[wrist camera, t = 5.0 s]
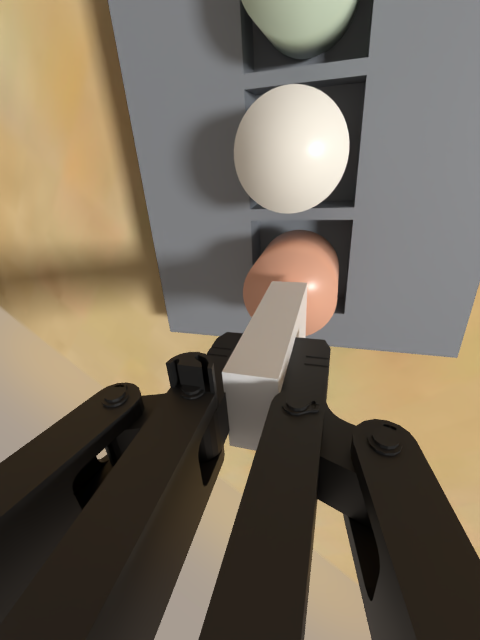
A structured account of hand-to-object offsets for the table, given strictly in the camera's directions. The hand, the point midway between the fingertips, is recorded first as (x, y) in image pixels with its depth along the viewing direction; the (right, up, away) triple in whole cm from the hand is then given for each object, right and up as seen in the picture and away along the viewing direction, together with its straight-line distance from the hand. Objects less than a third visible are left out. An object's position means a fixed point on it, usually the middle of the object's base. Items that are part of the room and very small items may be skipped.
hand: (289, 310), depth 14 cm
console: (+2, +9, +4) cm, 10 cm away
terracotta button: (+1, +2, +4) cm, 5 cm away
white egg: (+1, +8, +2) cm, 8 cm away
